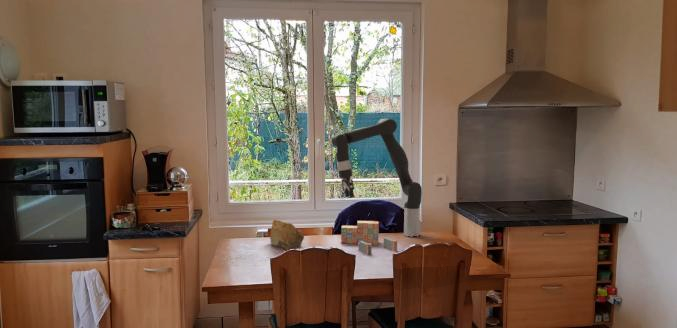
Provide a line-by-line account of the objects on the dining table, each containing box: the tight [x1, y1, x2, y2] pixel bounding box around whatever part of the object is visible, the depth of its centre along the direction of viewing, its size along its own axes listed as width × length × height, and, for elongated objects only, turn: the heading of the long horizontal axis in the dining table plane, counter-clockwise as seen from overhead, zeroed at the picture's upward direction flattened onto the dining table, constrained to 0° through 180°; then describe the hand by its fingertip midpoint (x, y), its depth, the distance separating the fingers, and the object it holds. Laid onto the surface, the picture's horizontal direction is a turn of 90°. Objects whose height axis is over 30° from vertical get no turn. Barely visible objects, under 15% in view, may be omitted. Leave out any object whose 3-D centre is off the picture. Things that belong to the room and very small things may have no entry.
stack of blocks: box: [340, 220, 380, 245], centre depth 262 cm, size 21×6×12 cm, turn 85°
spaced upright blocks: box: [358, 237, 398, 256], centre depth 245 cm, size 18×10×6 cm, turn 117°
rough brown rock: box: [269, 219, 305, 251], centre depth 252 cm, size 23×17×15 cm
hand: (349, 197), depth 258 cm, fingers open, 8 cm apart
